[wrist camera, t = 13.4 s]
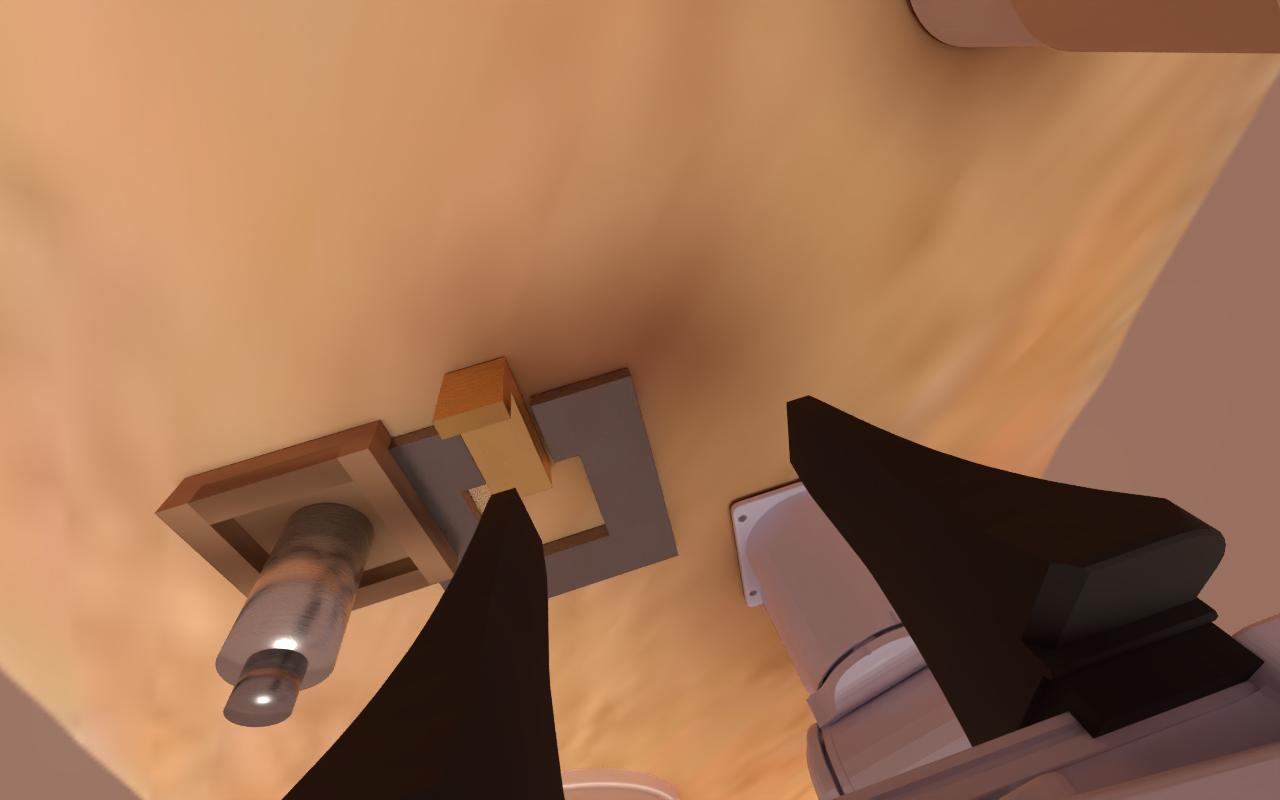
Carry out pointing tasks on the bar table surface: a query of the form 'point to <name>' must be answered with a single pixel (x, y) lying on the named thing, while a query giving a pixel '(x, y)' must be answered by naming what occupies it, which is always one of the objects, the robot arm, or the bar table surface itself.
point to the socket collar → (571, 425)
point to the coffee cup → (1107, 24)
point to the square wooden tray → (306, 475)
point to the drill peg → (295, 613)
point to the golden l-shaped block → (493, 427)
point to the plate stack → (614, 785)
